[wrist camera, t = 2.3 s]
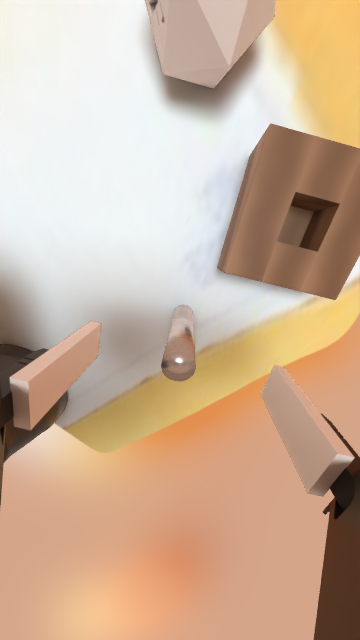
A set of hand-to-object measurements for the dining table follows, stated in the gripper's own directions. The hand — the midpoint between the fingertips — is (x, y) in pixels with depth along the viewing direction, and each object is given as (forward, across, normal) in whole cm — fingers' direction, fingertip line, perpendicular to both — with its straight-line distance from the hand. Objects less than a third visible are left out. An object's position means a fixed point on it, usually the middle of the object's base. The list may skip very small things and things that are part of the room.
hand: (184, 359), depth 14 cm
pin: (+11, -1, 0) cm, 11 cm away
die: (+11, -5, +24) cm, 27 cm away
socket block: (+11, +7, +12) cm, 18 cm away
